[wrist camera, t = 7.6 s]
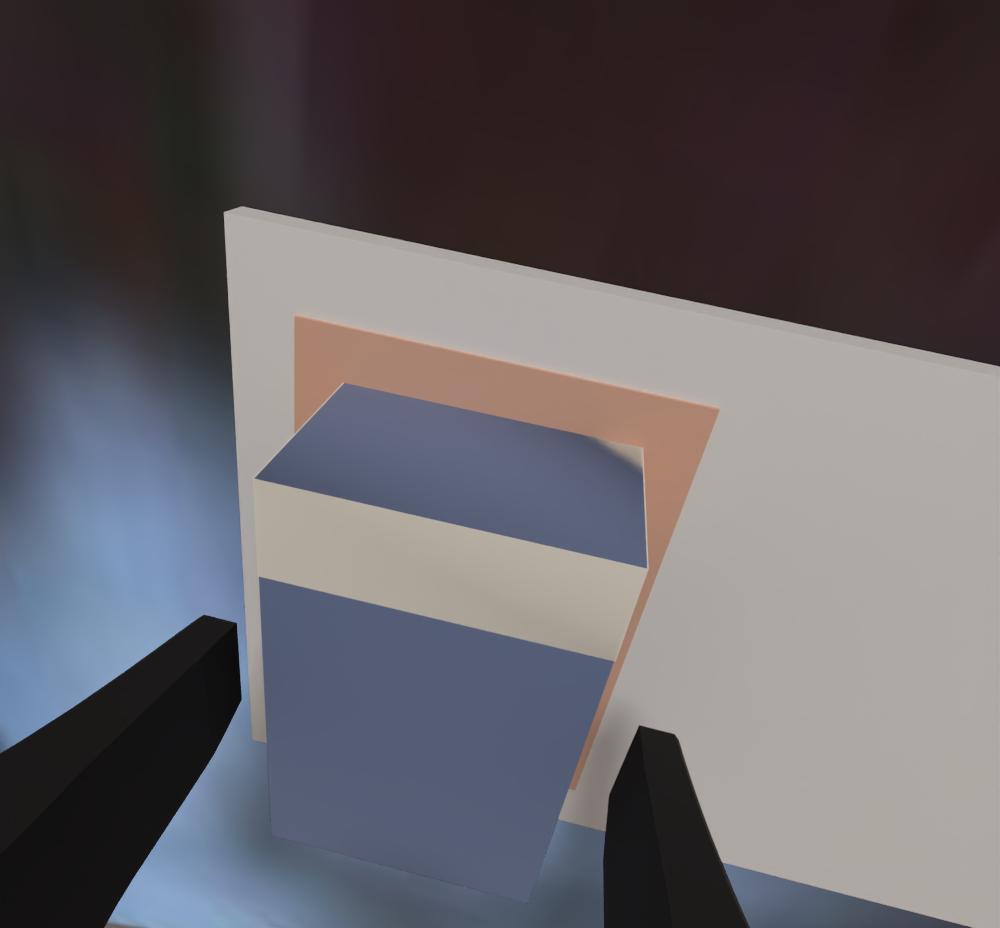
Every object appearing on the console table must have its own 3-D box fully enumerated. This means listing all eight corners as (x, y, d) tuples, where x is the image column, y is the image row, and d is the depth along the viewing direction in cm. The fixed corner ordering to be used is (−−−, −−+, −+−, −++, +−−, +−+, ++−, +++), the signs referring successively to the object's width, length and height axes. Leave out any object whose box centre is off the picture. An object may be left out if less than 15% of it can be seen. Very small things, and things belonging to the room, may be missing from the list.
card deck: (546, 757, 16) (528, 903, 13) (332, 704, 17) (270, 835, 14) (642, 447, 12) (648, 568, 9) (343, 382, 12) (252, 478, 9)
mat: (1603, 493, 10) (1661, 519, 10) (1055, 926, 17) (1070, 955, 17) (241, 206, 11) (221, 213, 11) (262, 721, 19) (251, 741, 18)
